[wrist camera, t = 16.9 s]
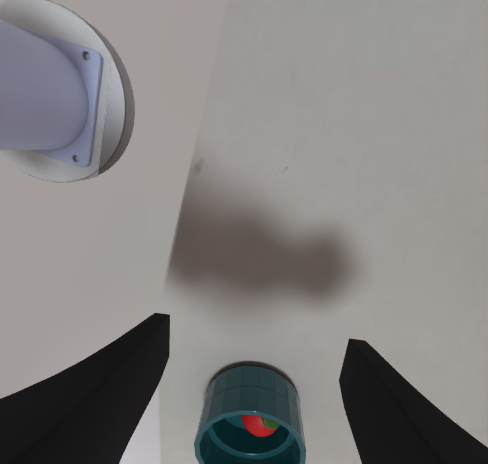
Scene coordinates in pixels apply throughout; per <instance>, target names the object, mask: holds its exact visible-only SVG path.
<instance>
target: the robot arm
mask: <svg viewBox="0 0 488 464" xmlns="http://www.w3.org/2000/svg"><path fill="white" fill-rule="evenodd" d="M88 53H89V54H90V58H89V59H88V60H87V59H86V55H87V54H88ZM102 68H103V57H102V55H101V54H100V53H99V52H97V51H95V50H93V49H90V48H87V47H84V46H80V45H77V44H74V43H71V42H68V41H65V40H62V39H58V38H55V37H52V36H49V35H46V34H43V33H40V32H36V31H33V30H30V29H27V28H24V27H21V26H18V25H15V24H11V23H8V22H6V21H4V20H2V19H0V150H28V151H32V152H35V153H38V154H41V155H45V156H48V157H51V158H54V159H57V160H61V161H64V162H67V163H70V164H74V165H77V166H80V167H88V166H90V165H91V160H92V152H93V144H94V135H95V127H96V119H97V110H98V102H99V93H100V85H101V77H102ZM76 156H78V157H79V161H77V160H76ZM169 339H170V315H167V314H160V313H154V314H153V315H151V316H150V317H148V318H147V319H146V320H144V321H143V322H141V323H140V324H138V325H137V326H136V327H134V328H133V329H131V330H130V331H128V332H127V333H125V334H124V335H122V336H121V337H119V338H118V339H117V340H115V341H113V342H112V343H111V344H109V345H107V346H106V347H104V348H102V349H100V350H99V351H97V352H96V353H94V354H92V355H91V356H89V357H87V358H86V359H84V360H82V361H80V362H79V363H77V364H75V365H73V366H71V367H69V368H67V369H65V370H63V371H62V372H60V373H58V374H56V375H54V376H52V377H50V378H47V379H45V380H43V381H41V382H38V383H36V384H34V385H32V386H29V387H27V388H25V389H23V390H21V391H18V392H16V393H14V394H11V395H9V396H7V397H4V398H1V399H0V464H119V462H120V460H121V457H122V455H123V453H124V451H125V449H126V447H127V445H128V442H129V440H130V438H131V436H132V435H133V433H134V431H135V429H136V427H137V425H138V423H139V421H140V419H141V417H142V415H143V413H144V411H145V409H146V407H147V406H148V404H149V402H150V400H151V398H152V396H153V394H154V392H155V390H156V388H157V386H158V384H159V382H160V380H161V377H162V375H163V372H164V369H165V367H166V364H167V361H168V358H169ZM339 383H340V388H341V394H342V399H343V403H344V408H345V411H346V415H347V418H348V421H349V424H350V427H351V431H352V434H353V437H354V440H355V443H356V446H357V449H358V452H359V455H360V459H361V462H362V464H488V448H487V447H486V446H485V445H483V444H482V443H481V442H479V441H478V440H477V439H475V438H474V437H473V436H471V435H470V434H469V433H468V432H466V431H465V430H464V429H462V428H461V427H460V426H459V425H457V424H456V423H455V422H453V421H452V420H451V419H450V418H449V417H447V416H446V415H445V414H444V413H443V412H441V411H440V410H439V409H438V408H437V407H436V406H434V405H433V404H432V403H431V402H430V401H429V400H428V399H426V398H425V397H424V396H423V395H422V394H421V393H420V392H419V391H417V390H416V389H415V388H414V387H413V386H412V385H411V384H410V383H409V382H408V381H407V380H406V379H404V378H403V377H402V376H401V375H400V374H399V373H398V372H397V371H396V370H395V369H394V368H393V367H392V366H391V365H390V364H389V363H388V362H387V361H386V360H385V359H384V358H383V357H382V356H381V355H380V354H379V353H378V352H377V351H376V350H375V349H374V348H373V347H371V346H370V345H369V344H368V343H367V342H366V341H364V340H356V339H349V341H348V346H347V350H346V354H345V358H344V362H343V366H342V370H341V374H340V379H339Z"/></svg>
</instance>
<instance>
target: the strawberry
mask: <svg viewBox="0 0 488 464" xmlns="http://www.w3.org/2000/svg"><path fill="white" fill-rule="evenodd" d="M241 417H242V421H243V424H244V425H245V427H246V429H247V430H248V431H249V432H250V433H252V434H253V435H255V436H259V437H265V436H268V435H271V434H272V433H273V432H274V431H275V430H276V429H277V428H278V427H279V426H280V424H278V423H276V422H275V421H273V420H270V419H267V418H263V417H260V416H255V415H241Z"/></svg>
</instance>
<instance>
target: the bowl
mask: <svg viewBox="0 0 488 464" xmlns="http://www.w3.org/2000/svg"><path fill="white" fill-rule="evenodd" d="M241 415H255V416H260V417H263V418H267V419H270V420H273V421H275V422H276V423H278V424H280V426H279V427H278V428H277V429H276V430H275V431H274V432H273V433H272V434H271V435H268V436H265V437H259V436H255V435H253V434H252V433H250V432H249V431H248V430H247V429H246V427H245V425H244V424H243V421H242V417H241ZM194 447H195V456H196V458H197V460H198V462H199V464H305V459H306V447H305V439H304V432H303V425H302V418H301V411H300V403H299V399H298V396H297V393H296V391H295V389H294V387H293V386H292V385H291V384H290V383H289V382H288V380H287V379H285V378H284V377H282V376H281V375H279V374H277V373H276V372H273V371H272V370H269V369H266V368H262V367H258V366H240V367H236V368H232V369H229V370H227V371H225V372H223V373H222V374H220V375H218V376H217V377H216V378H215V379H214V380H213V382H212V383H211V384H210V385H209V387H208V390H207V393H206V396H205V400H204V404H203V408H202V413H201V417H200V421H199V425H198V429H197V433H196V438H195V442H194Z"/></svg>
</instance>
